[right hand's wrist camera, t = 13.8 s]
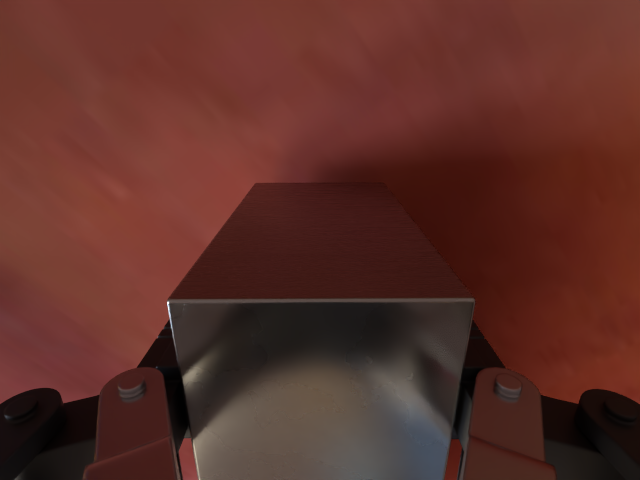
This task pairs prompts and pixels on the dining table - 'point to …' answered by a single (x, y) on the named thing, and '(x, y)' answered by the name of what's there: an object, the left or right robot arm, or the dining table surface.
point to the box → (321, 340)
